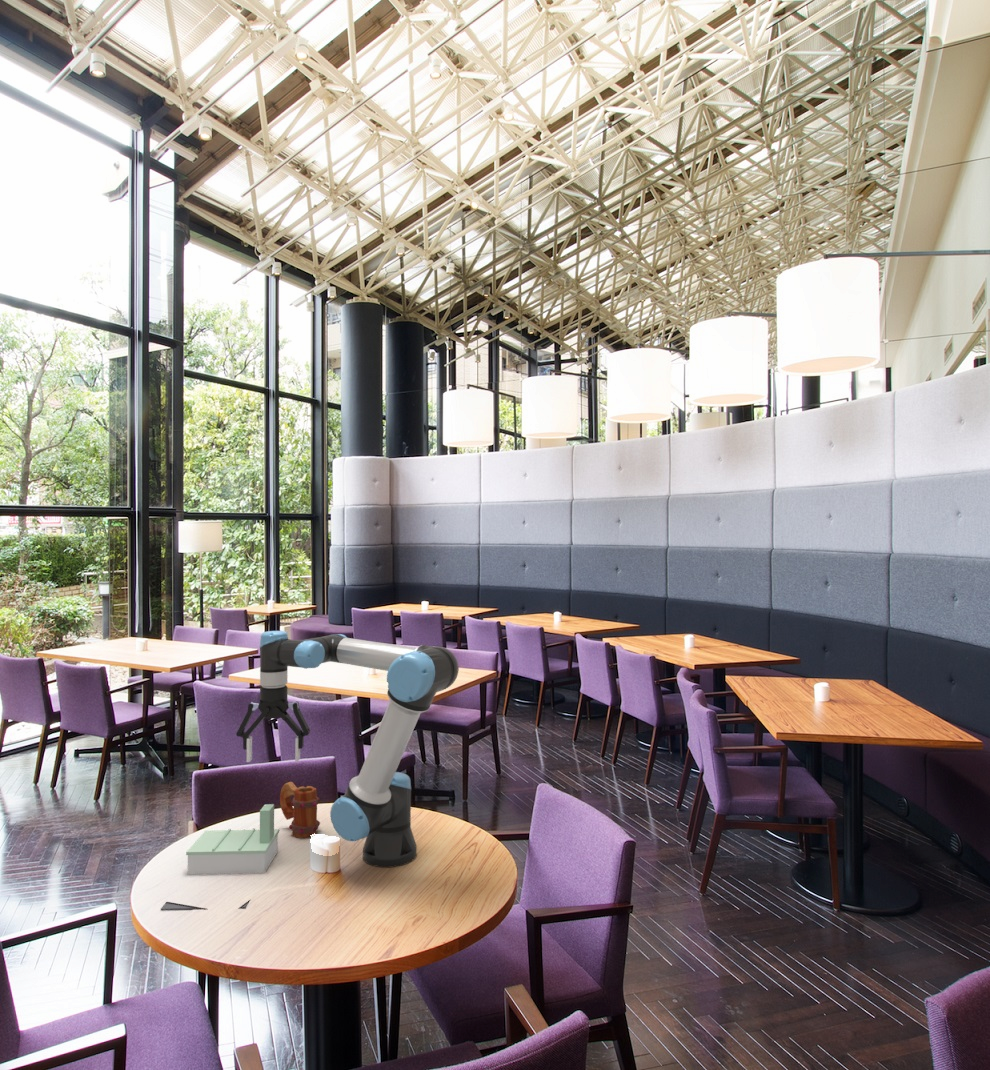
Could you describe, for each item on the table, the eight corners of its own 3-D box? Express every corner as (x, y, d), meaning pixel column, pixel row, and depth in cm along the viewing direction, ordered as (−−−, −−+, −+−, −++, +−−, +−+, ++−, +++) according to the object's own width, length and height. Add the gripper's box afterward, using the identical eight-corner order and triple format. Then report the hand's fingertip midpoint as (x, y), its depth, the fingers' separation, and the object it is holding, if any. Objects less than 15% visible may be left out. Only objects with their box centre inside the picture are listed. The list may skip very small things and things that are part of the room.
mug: (326, 835, 222) (326, 785, 222) (305, 844, 215) (306, 792, 215) (292, 825, 230) (292, 777, 230) (271, 833, 223) (272, 784, 223)
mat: (261, 880, 192) (261, 878, 192) (245, 908, 177) (245, 906, 177) (184, 881, 191) (184, 880, 191) (160, 910, 176) (160, 908, 176)
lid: (279, 832, 208) (279, 798, 209) (265, 853, 194) (265, 817, 194) (205, 833, 207) (205, 799, 208) (186, 855, 193) (186, 818, 193)
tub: (277, 853, 208) (277, 832, 208) (264, 875, 194) (264, 853, 194) (205, 855, 207) (206, 833, 207) (187, 877, 193) (187, 854, 193)
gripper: (320, 682, 213) (320, 755, 213) (233, 683, 212) (233, 757, 212) (315, 687, 206) (315, 763, 206) (225, 688, 205) (224, 764, 204)
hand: (273, 760), depth 209 cm, fingers open, 13 cm apart
